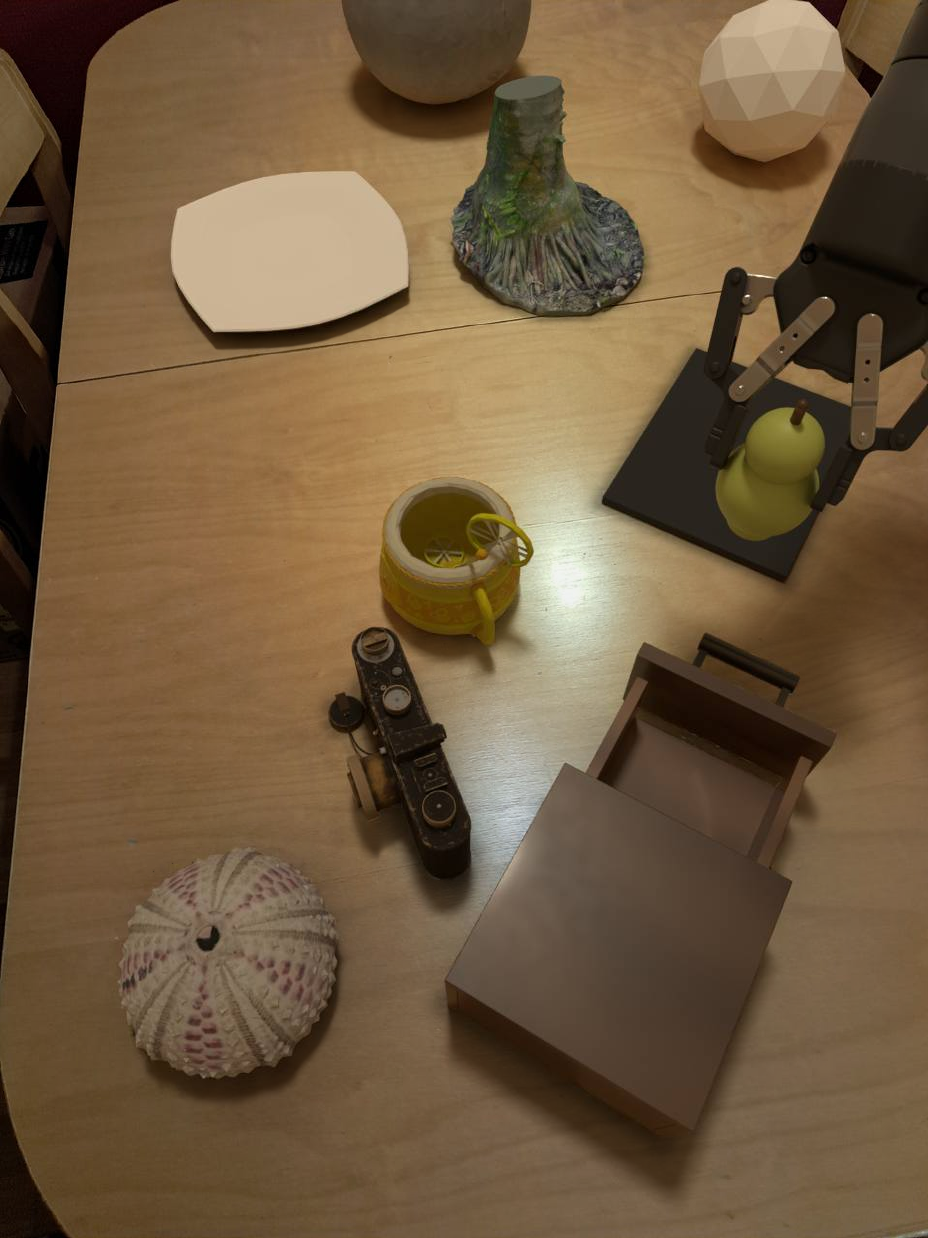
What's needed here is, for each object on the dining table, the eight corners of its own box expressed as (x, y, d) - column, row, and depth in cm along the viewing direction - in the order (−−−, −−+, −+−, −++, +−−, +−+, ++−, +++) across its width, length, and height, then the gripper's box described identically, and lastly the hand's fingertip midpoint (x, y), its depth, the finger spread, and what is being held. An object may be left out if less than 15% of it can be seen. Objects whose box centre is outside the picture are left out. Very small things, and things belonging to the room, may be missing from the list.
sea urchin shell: (280, 1123, 55) (254, 1116, 48) (87, 1027, 58) (35, 1007, 51) (378, 911, 61) (367, 877, 54) (199, 833, 64) (166, 791, 57)
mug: (360, 557, 76) (344, 460, 65) (483, 512, 78) (486, 411, 68) (422, 687, 70) (415, 602, 59) (554, 634, 72) (568, 544, 62)
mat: (862, 417, 83) (865, 411, 82) (783, 582, 74) (786, 576, 74) (694, 353, 87) (696, 347, 87) (601, 502, 78) (602, 496, 78)
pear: (813, 505, 59) (875, 384, 49) (780, 573, 56) (840, 460, 47) (725, 469, 60) (770, 346, 51) (690, 534, 58) (731, 417, 48)
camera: (318, 692, 69) (302, 639, 63) (403, 664, 71) (396, 608, 64) (389, 903, 62) (380, 869, 55) (484, 867, 63) (486, 829, 56)
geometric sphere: (717, 169, 110) (723, 20, 104) (852, 157, 102) (867, -5, 97) (674, 166, 99) (678, -1, 93) (822, 152, 91) (836, -31, 85)
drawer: (652, 643, 70) (669, 595, 65) (824, 724, 67) (858, 681, 61) (544, 844, 63) (551, 809, 57) (732, 947, 59) (761, 922, 53)
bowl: (562, 79, 110) (575, -66, 97) (447, 160, 102) (445, 14, 89) (431, 19, 117) (427, -124, 104) (315, 90, 109) (294, -55, 96)
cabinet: (553, 809, 65) (565, 762, 57) (753, 916, 61) (793, 880, 54) (447, 1005, 58) (444, 980, 51) (663, 1138, 55) (693, 1133, 47)
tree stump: (531, 352, 88) (503, 159, 75) (425, 277, 101) (385, 101, 87) (683, 271, 92) (682, 74, 79) (564, 209, 105) (545, 31, 91)
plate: (199, 367, 86) (194, 351, 85) (157, 215, 98) (152, 199, 96) (437, 311, 90) (436, 294, 89) (370, 171, 101) (369, 154, 100)
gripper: (775, 119, 47) (637, 440, 52) (1073, 210, 43) (894, 546, 48) (781, 160, 54) (659, 440, 59) (1038, 242, 50) (884, 533, 55)
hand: (765, 487), depth 53 cm, fingers closed on pear, 5 cm apart
